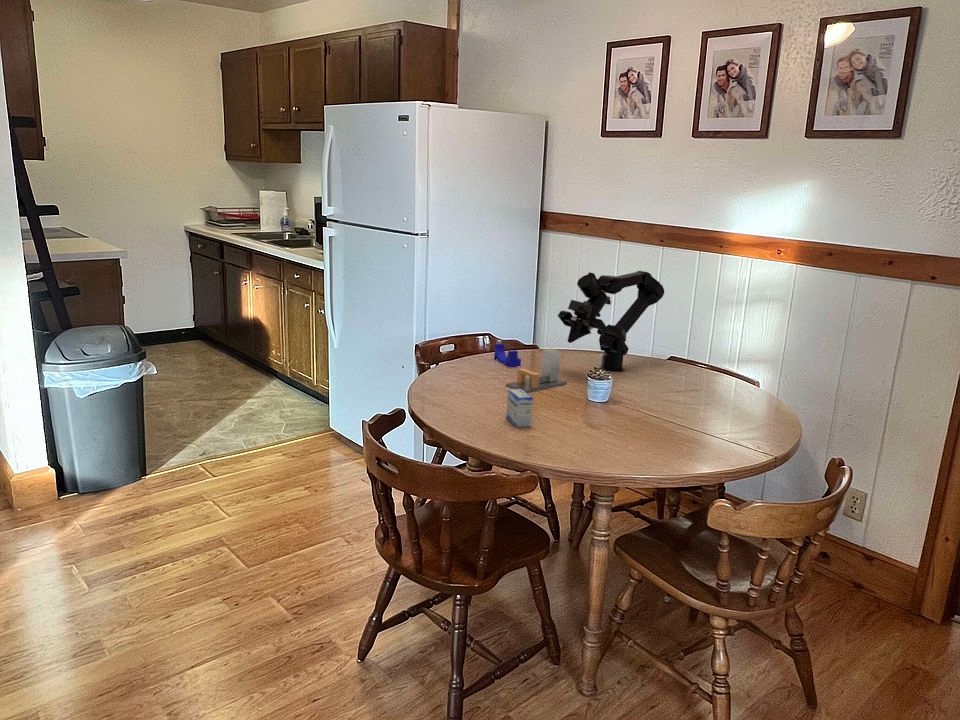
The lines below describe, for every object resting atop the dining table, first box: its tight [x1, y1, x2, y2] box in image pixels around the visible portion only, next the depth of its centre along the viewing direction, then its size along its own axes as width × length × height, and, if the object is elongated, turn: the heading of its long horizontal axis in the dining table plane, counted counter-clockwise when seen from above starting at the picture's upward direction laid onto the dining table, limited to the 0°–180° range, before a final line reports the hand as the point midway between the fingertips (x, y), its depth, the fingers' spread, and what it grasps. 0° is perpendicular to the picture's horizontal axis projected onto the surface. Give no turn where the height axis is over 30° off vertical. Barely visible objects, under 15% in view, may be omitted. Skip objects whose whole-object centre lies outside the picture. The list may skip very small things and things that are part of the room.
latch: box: [529, 348, 561, 383], centre depth 245 cm, size 10×4×10 cm, turn 130°
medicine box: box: [505, 388, 534, 428], centre depth 208 cm, size 8×4×9 cm, turn 21°
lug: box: [516, 368, 540, 388], centre depth 242 cm, size 2×8×4 cm, turn 40°
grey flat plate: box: [505, 378, 568, 394], centre depth 245 cm, size 19×9×1 cm, turn 130°
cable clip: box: [493, 343, 522, 368], centre depth 270 cm, size 12×4×6 cm, turn 26°
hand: (568, 342), depth 251 cm, fingers closed
